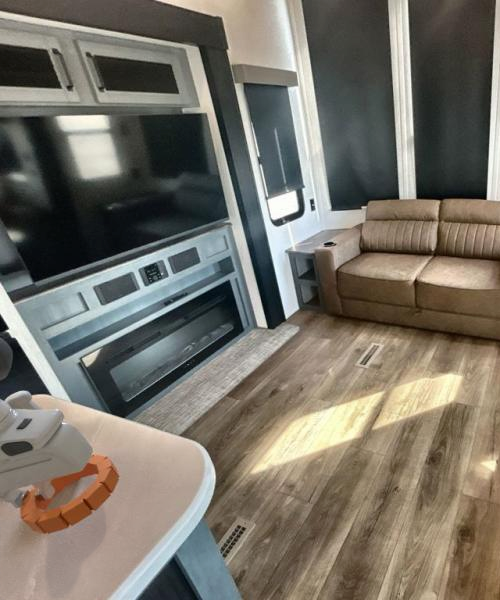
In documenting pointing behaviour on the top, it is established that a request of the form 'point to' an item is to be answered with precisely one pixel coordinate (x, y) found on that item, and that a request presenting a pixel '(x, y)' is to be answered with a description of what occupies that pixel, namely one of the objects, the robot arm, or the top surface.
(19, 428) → the robot arm
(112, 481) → the orange ring
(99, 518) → the top surface
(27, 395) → the salt shaker
